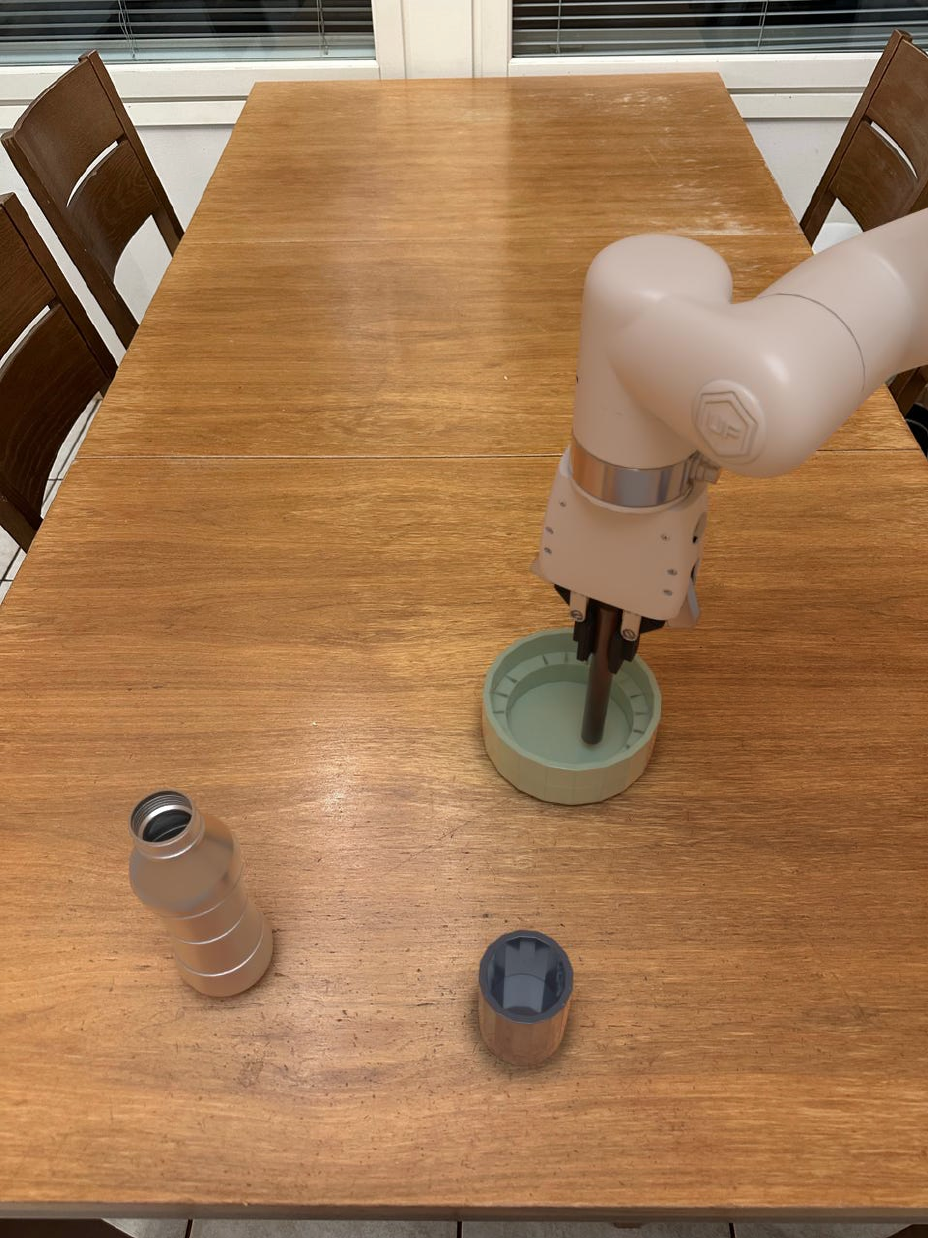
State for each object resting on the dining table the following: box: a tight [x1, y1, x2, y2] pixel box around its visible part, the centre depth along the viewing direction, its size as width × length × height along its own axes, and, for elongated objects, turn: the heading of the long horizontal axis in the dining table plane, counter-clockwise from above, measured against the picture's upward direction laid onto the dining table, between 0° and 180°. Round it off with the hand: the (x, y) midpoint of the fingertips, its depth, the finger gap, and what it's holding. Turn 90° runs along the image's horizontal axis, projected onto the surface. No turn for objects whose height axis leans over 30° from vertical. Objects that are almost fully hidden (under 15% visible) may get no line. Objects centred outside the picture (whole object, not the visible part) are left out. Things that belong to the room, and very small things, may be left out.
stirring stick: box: [581, 601, 624, 744], centre depth 71 cm, size 2×2×16 cm
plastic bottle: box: [127, 788, 274, 998], centre depth 60 cm, size 6×7×20 cm
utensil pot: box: [477, 929, 574, 1067], centre depth 61 cm, size 6×6×8 cm
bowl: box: [481, 627, 663, 806], centre depth 78 cm, size 14×14×6 cm
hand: (604, 652), depth 70 cm, fingers closed on stirring stick, 1 cm apart
